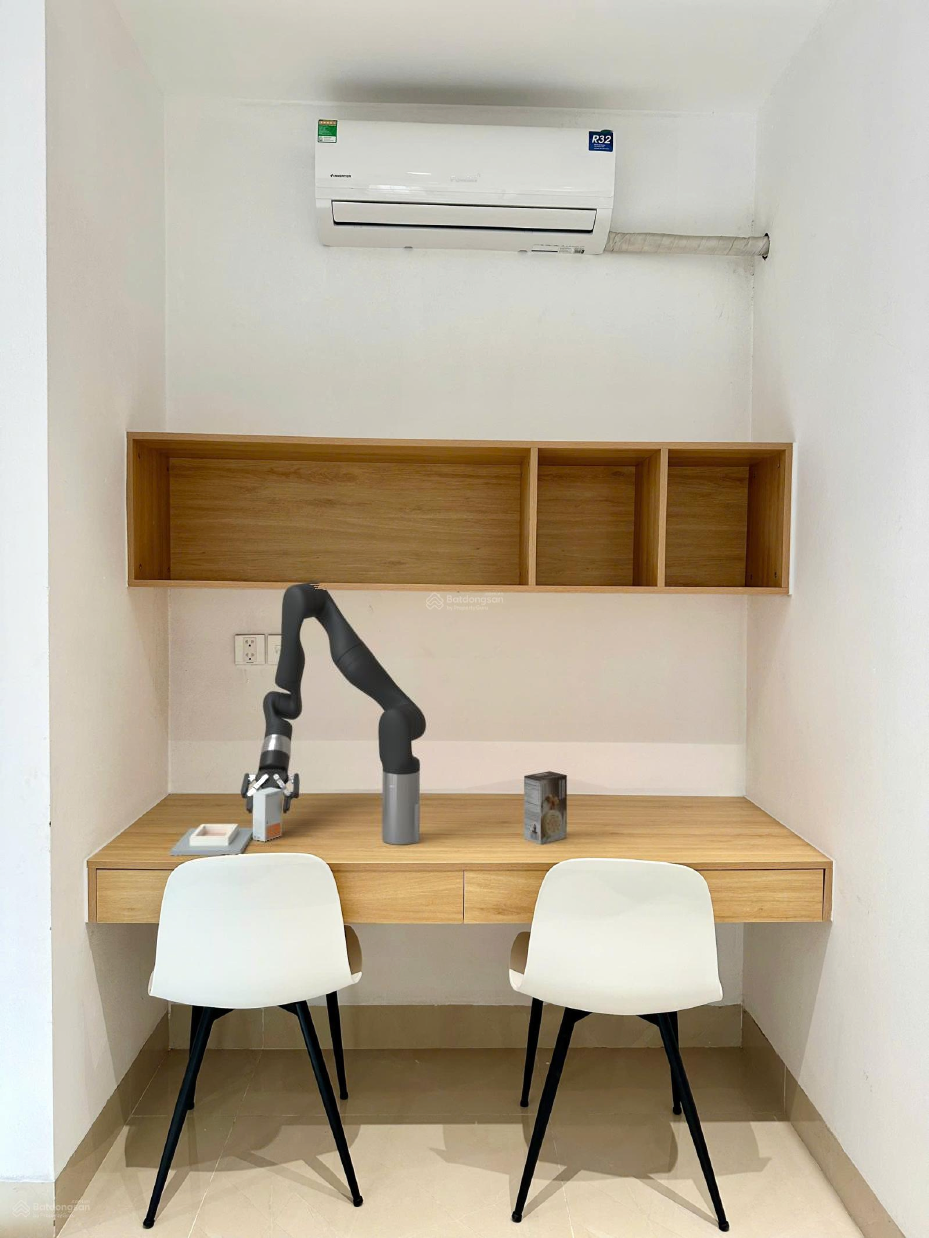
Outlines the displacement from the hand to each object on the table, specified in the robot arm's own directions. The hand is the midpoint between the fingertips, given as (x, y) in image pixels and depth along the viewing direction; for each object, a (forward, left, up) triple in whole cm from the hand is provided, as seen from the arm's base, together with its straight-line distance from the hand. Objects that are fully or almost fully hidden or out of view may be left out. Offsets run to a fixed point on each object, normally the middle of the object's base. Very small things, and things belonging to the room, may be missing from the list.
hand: (267, 811), depth 210 cm
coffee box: (-69, +2, -7) cm, 69 cm away
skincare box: (0, 0, -7) cm, 7 cm away
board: (+12, +4, -7) cm, 14 cm away
